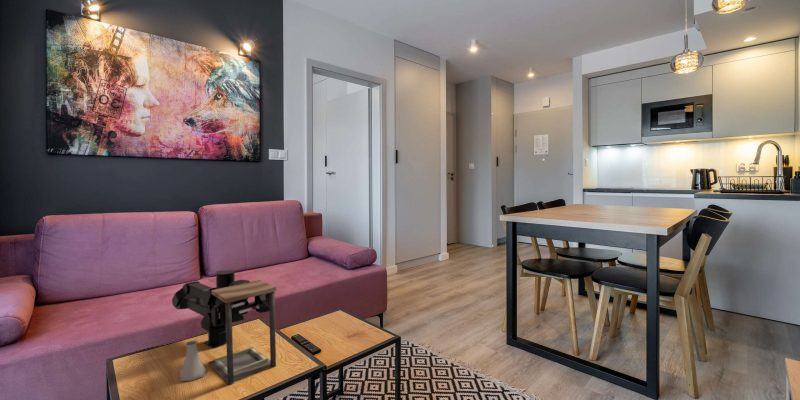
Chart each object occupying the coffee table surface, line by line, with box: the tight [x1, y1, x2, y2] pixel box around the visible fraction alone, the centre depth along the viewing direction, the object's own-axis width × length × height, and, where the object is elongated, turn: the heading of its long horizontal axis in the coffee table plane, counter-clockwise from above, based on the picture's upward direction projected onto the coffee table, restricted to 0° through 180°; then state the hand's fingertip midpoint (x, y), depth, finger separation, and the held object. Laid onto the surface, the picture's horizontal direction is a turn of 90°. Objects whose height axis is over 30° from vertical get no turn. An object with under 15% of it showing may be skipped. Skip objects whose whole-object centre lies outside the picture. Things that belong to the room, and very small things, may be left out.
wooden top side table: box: [208, 279, 277, 386], centre depth 114 cm, size 17×15×25 cm
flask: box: [178, 340, 207, 382], centre depth 109 cm, size 7×7×10 cm
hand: (256, 313), depth 114 cm, fingers open, 9 cm apart
